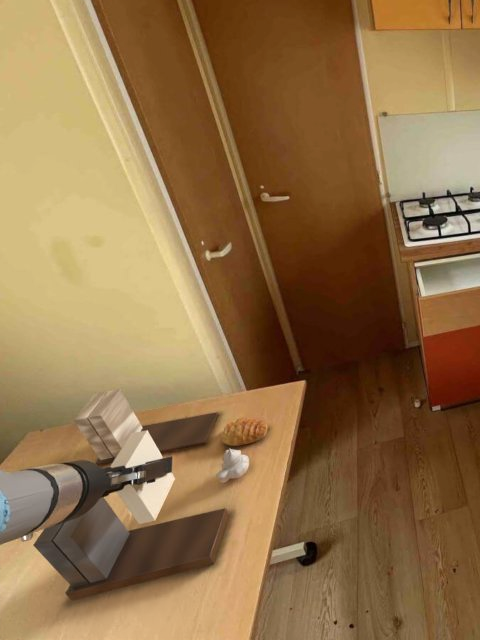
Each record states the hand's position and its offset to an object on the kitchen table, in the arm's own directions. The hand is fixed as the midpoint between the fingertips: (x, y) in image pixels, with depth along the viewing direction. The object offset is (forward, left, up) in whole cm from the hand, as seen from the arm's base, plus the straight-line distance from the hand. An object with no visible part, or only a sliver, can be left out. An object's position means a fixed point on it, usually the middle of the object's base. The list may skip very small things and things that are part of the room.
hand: (159, 466), depth 76 cm
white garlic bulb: (+3, +11, -18) cm, 22 cm away
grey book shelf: (-4, -5, -18) cm, 19 cm away
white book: (+1, -4, -4) cm, 6 cm away
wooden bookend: (-20, +23, -18) cm, 35 cm away
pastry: (0, +22, -18) cm, 29 cm away
